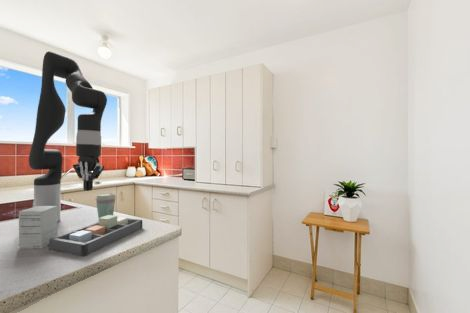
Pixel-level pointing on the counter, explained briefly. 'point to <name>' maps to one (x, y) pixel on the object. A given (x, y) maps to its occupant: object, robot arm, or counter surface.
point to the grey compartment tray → (93, 238)
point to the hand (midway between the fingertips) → (88, 190)
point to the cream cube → (122, 220)
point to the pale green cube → (108, 221)
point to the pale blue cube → (81, 236)
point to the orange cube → (97, 230)
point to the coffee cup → (105, 204)
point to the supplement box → (37, 226)
